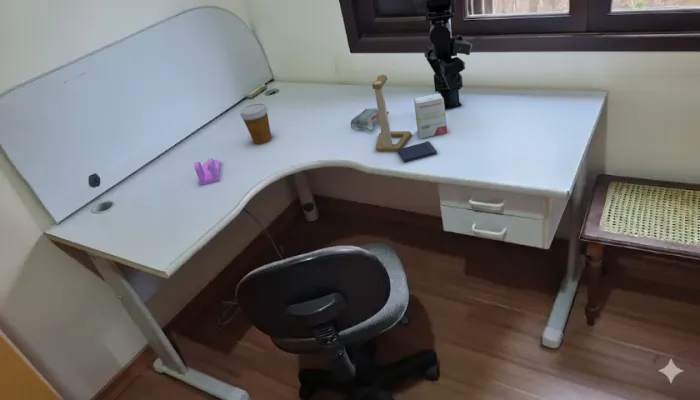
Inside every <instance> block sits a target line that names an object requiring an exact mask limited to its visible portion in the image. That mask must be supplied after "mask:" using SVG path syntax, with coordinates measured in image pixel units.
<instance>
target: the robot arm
mask: <svg viewBox="0 0 700 400" xmlns="http://www.w3.org/2000/svg"><path fill="white" fill-rule="evenodd" d="M424 10H425V11H424V12H425V21H426V22H428V21H429V22H430V29H429V43H430V44H432V45H429V46H426V47H425V49H424V50H423V53H424V58H425V59H426V61H427V63H428V64H429V66H430V68H431V70H432V72H433V73H434V74H433V84H434V85H433V86H434V90H435V91H434V92H435V93H436V94H439V93H440V94H441V96H442V97H443V99H444V107H445V111H448V110H451V109H455V108H458V107H462V103H461V102H460V90H461V88H464V84H463V75H462V74H461V72H463V71H464V70H465V69H466V62H465V61H464V60H462V59H461V58H460V57H458V54H461V55H466V56H470V55H471V51H472V48H473V43H471V42H470V41H468V40H465V39H464V37H463V36H462V35H459V34H456V35H455V36H453V34H452V33H453V32H452V21H451V19H452V18H454V13H456V0H424Z"/></svg>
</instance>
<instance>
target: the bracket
mask: <svg viewBox="0 0 700 400" xmlns="http://www.w3.org/2000/svg"><path fill="white" fill-rule="evenodd" d="M193 168H194V171H195V173H196V176H197V177H198V180H199V183H200V185H201V186H203V185H208V184H212V183H215V182H220V172H221V163H220V161H219V160H218V159H214V158H207V160H206V162H204V163H203V164H202V163H201V162H200V161H195V162H194V163H193Z"/></svg>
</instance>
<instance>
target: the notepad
mask: <svg viewBox="0 0 700 400" xmlns="http://www.w3.org/2000/svg"><path fill="white" fill-rule="evenodd" d="M397 153H398V155H399V157H400V158H401V160H402V161H403V163H409V162H412V161H416V160H420V159H424V158H427V157H431V156H435V155H438V150H437V149H435V147H434V146H433V144H432V143H431V141H429V140H427V141H424V142H420V143H417V144H413V145H410V146H406V147H405V146H404V147H402V148H401V149H398V152H397Z"/></svg>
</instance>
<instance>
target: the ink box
mask: <svg viewBox="0 0 700 400" xmlns="http://www.w3.org/2000/svg"><path fill="white" fill-rule="evenodd" d="M413 105H414V113H415V114H414V115H415V120H416V121H415V122H416V128H417V129H416V131H417V134H418V136H419V138H420V139H425V138H430V137H434V136H438V135H443V134H446V133H448V127H447V126H448V125H447V117H446V110H445V107H444V99H443V97H442V96H441V94H440V93H439V94H437V93H435V94H428V95H425V96H420V97H415V98H413Z"/></svg>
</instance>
